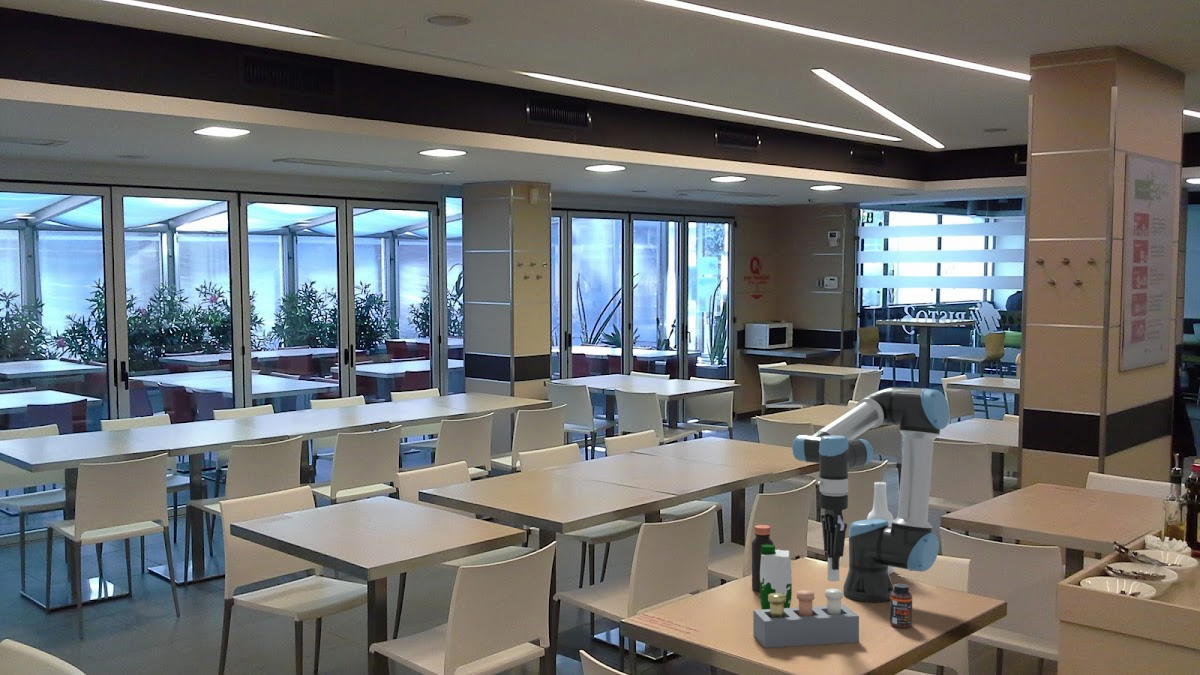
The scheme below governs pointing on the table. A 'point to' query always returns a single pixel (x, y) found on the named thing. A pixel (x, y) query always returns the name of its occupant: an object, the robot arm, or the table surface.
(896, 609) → the supplement bottle
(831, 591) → the white rounded piece
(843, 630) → the block
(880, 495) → the alcohol
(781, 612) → the brass plunger
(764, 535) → the vinegar
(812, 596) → the pink rounded piece
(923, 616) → the table surface
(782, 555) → the milk carton
